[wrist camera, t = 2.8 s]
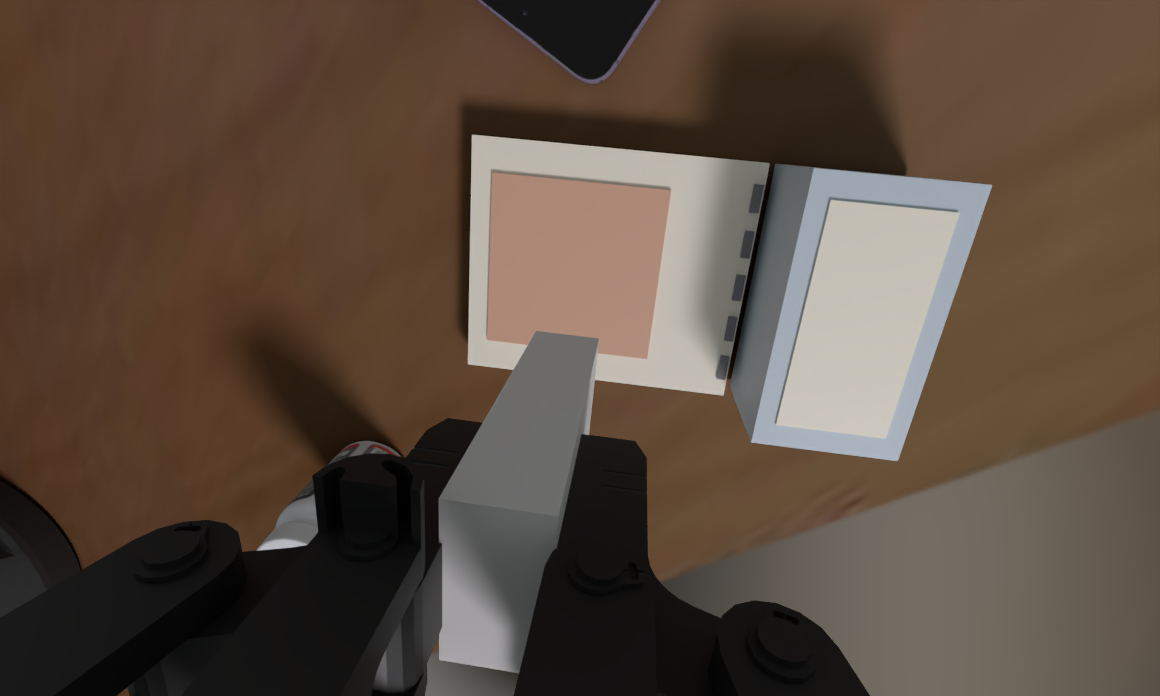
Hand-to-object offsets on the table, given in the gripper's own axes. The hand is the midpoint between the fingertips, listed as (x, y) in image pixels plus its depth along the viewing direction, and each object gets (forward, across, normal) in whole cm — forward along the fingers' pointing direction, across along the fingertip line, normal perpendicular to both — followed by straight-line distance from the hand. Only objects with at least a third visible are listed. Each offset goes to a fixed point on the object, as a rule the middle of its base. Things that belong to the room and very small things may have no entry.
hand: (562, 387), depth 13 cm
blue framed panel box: (+15, +10, 0) cm, 18 cm away
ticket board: (+15, 0, 0) cm, 15 cm away
